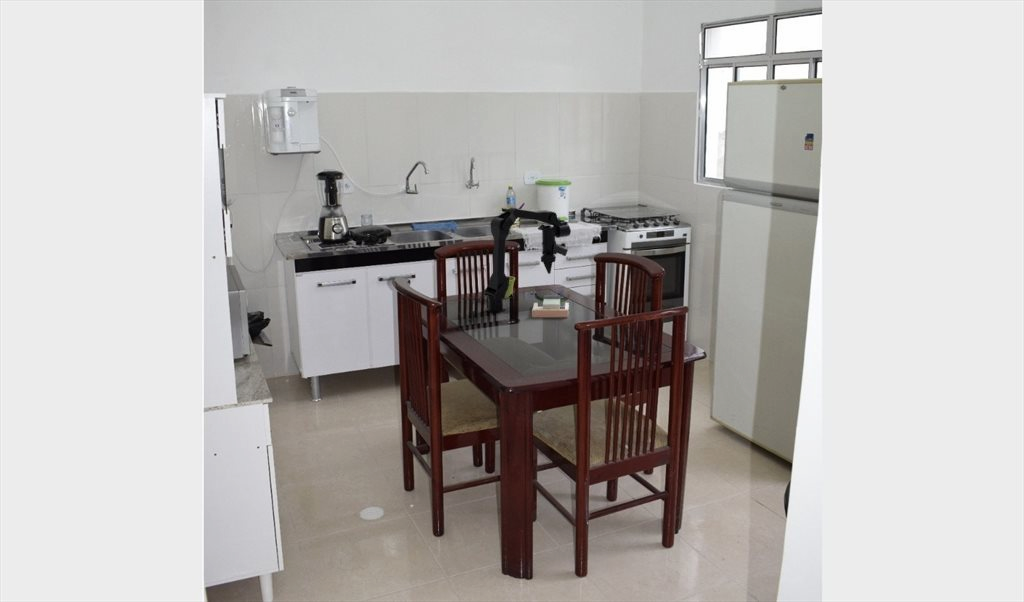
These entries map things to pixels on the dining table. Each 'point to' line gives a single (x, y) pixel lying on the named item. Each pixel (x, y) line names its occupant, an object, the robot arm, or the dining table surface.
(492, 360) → the dining table surface
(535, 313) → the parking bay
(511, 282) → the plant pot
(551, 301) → the pale green box
